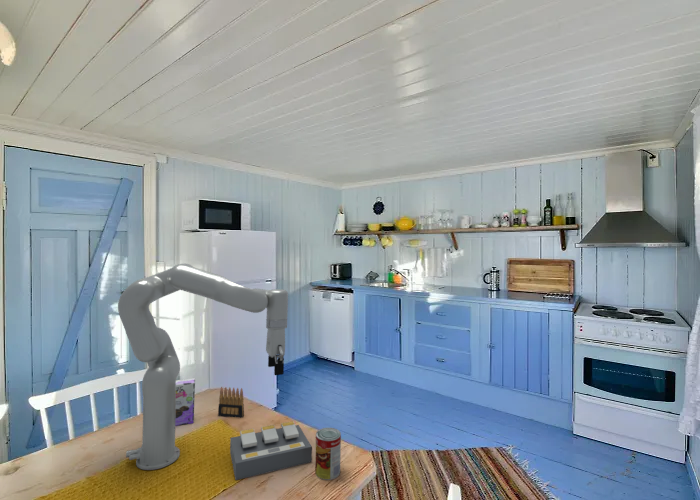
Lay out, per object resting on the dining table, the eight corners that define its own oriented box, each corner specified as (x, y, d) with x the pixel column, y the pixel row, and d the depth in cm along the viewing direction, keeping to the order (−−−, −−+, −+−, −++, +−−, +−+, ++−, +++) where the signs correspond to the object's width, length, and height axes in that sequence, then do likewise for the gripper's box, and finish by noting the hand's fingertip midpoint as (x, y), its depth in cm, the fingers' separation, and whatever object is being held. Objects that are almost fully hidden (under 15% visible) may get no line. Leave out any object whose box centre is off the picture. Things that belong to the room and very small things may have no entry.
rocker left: (242, 448, 112) (243, 444, 112) (240, 434, 118) (240, 430, 118) (256, 445, 114) (257, 441, 113) (253, 431, 120) (253, 428, 120)
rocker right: (285, 439, 118) (286, 435, 117) (281, 426, 124) (281, 423, 124) (298, 436, 119) (298, 433, 119) (293, 424, 126) (293, 420, 125)
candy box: (154, 429, 134) (155, 386, 134) (156, 422, 140) (157, 381, 140) (193, 423, 139) (194, 382, 140) (194, 417, 145) (195, 377, 145)
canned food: (323, 461, 115) (324, 425, 115) (344, 469, 111) (345, 431, 112) (310, 475, 108) (310, 436, 108) (332, 483, 104) (332, 442, 105)
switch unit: (235, 480, 105) (235, 459, 105) (230, 452, 120) (230, 433, 120) (311, 461, 115) (311, 442, 115) (298, 438, 129) (298, 421, 130)
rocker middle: (264, 443, 115) (265, 440, 114) (261, 430, 121) (261, 426, 121) (278, 440, 116) (278, 437, 116) (273, 427, 123) (274, 424, 123)
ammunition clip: (244, 416, 147) (244, 387, 147) (242, 418, 145) (242, 389, 145) (220, 414, 148) (220, 385, 148) (217, 416, 146) (218, 387, 146)
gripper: (261, 319, 134) (260, 364, 133) (272, 328, 118) (270, 379, 118) (280, 318, 137) (279, 362, 137) (293, 327, 121) (292, 376, 121)
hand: (275, 370), depth 127 cm, fingers open, 9 cm apart
